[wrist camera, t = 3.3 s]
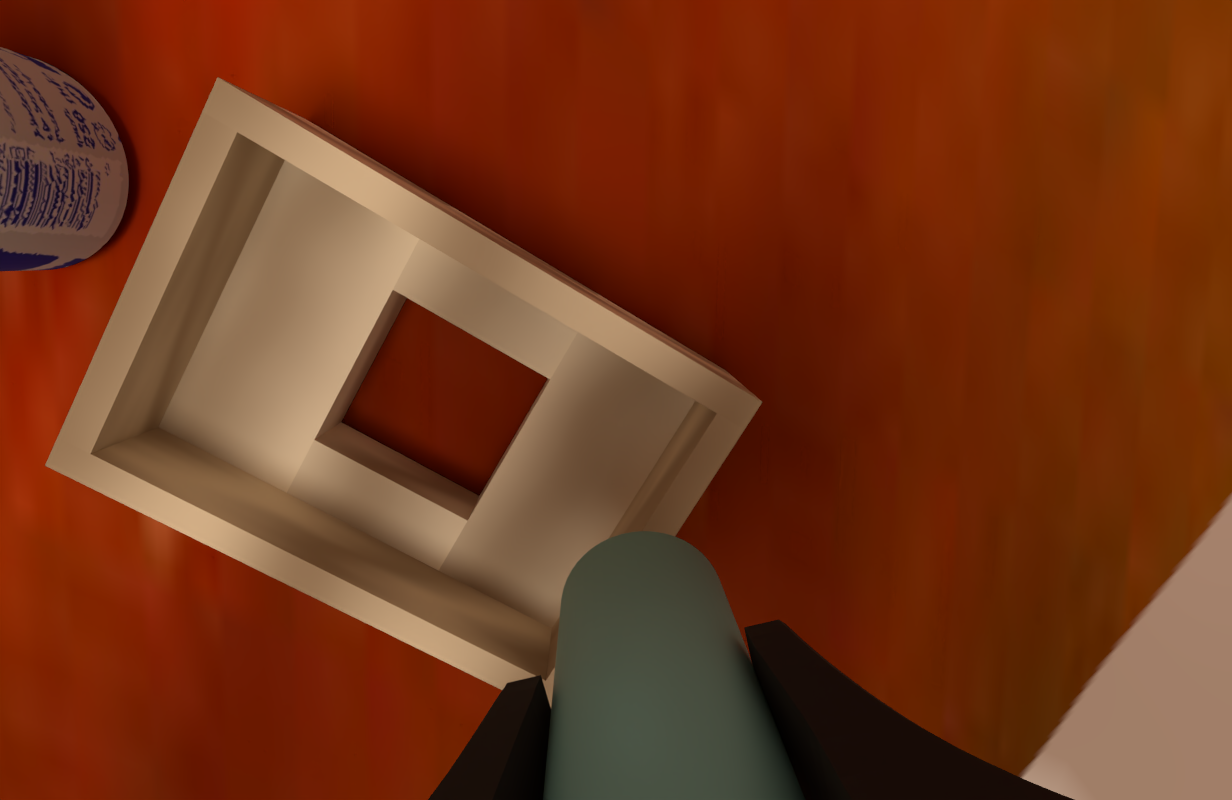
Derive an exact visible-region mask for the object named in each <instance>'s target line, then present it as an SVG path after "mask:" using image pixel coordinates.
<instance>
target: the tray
mask: <svg viewBox="0 0 1232 800" xmlns="http://www.w3.org/2000/svg"><path fill="white" fill-rule="evenodd" d="M407 298H408V299H410V300H412V301H414V302H415V303H417V304H419V305H421V306H422V307H424V308H426V309H428V310H429V311H431V312H433V313H435V314H436V315H438V316H440V317H442V318H443V319H445V320H447V321H449V322H450V323H452V324H454V325H456V326H457V327H459V328H461V329H463V330H464V331H466V332H468V333H470V334H471V335H473V336H475V337H477V338H478V339H480V340H482V341H484V342H485V343H487V344H489V345H491V346H492V347H494V348H496V349H498V350H499V351H501V352H503V353H505V354H506V355H508V356H510V357H512V358H513V359H515V360H517V361H519V362H520V363H522V364H524V365H526V366H527V367H529V368H531V369H533V370H534V371H536V372H538V373H540V374H541V375H543V376H545V377H547V378H548V379H547V381H546V383H545V384H544V386H543V388H542V390H541V391H540V393H539V395H538V396H537V398H536V400H535V402H534V403H533V405H532V407H531V409H530V410H529V412H528V414H527V415H526V417H525V419H524V421H523V422H522V424H521V426H520V427H519V429H518V431H517V433H516V434H515V436H514V438H513V439H512V441H511V443H510V445H509V446H508V448H507V450H506V451H505V453H504V455H503V457H502V458H501V460H500V462H499V463H498V465H497V467H496V469H495V470H494V472H493V474H492V475H491V477H490V479H489V481H488V482H487V484H486V486H485V487H484V489H483V491H482V493H481V494H480V496H478V495H477V494H475V493H473V492H471V491H469V490H467V489H465V488H464V487H462V486H460V485H458V484H456V483H454V482H452V481H450V480H449V479H447V478H445V477H443V476H441V475H439V474H437V473H435V472H434V471H432V470H430V469H428V468H426V467H424V466H422V465H420V464H419V463H417V462H415V461H413V460H411V459H409V458H407V457H405V456H404V455H402V454H400V453H398V452H396V451H394V450H392V449H391V448H389V447H387V446H385V445H383V444H381V443H379V442H377V441H376V440H374V439H372V438H370V437H368V436H366V435H364V434H362V433H361V432H359V431H357V430H355V429H353V428H351V427H349V426H347V425H346V424H344V423H342V420H343V418H344V416H345V414H346V412H347V410H348V408H349V406H350V405H351V403H352V401H353V399H354V397H355V395H356V393H357V391H358V389H359V388H360V386H361V384H362V382H363V380H364V378H365V376H366V374H367V372H368V370H369V369H370V367H371V365H372V363H373V361H374V359H375V357H376V355H377V353H378V352H379V350H380V348H381V346H382V344H383V342H384V340H385V338H386V336H387V335H388V333H389V331H390V329H391V327H392V325H393V323H394V321H395V319H396V317H397V316H398V314H399V312H400V310H401V308H402V306H403V304H404V302H405V300H406V299H407ZM761 404H762V401H761V400H760V399H758V398H757V397H756V396H755V395H754V394H753V393H751V392H750V391H749V390H748V389H747V388H746V387H744V386H743V385H742V384H741V383H740V382H739V381H738V380H736V379H735V378H734V377H733V376H732V375H731V374H729V373H728V372H727V371H726V370H724V369H723V368H721V367H719V366H718V365H716V364H714V363H713V362H711V361H709V360H707V359H706V358H704V357H702V356H701V355H699V354H697V353H696V352H694V351H692V350H691V349H689V348H687V347H686V346H684V345H682V344H681V343H679V342H677V341H676V340H674V339H672V338H671V337H669V336H667V335H666V334H664V333H662V332H661V331H659V330H657V329H656V328H654V327H652V326H651V325H649V324H647V323H646V322H644V321H642V320H641V319H639V318H637V317H636V316H634V315H632V314H631V313H629V312H627V311H626V310H624V309H622V308H621V307H619V306H617V305H616V304H614V303H612V302H611V301H609V300H607V299H606V298H604V297H602V296H601V295H599V294H597V293H596V292H594V291H592V290H591V289H589V288H587V287H586V286H584V285H582V284H581V283H579V282H577V281H576V280H574V279H572V278H571V277H569V276H567V275H566V274H564V273H562V272H561V271H559V270H557V269H556V268H554V267H552V266H550V265H549V264H547V263H545V262H544V261H542V260H540V259H539V258H537V257H535V256H534V255H532V254H530V253H529V252H527V251H525V250H524V249H522V248H520V247H519V246H517V245H515V244H514V243H512V242H510V241H509V240H507V239H505V238H504V237H502V236H500V235H499V234H497V233H495V232H494V231H492V230H490V229H489V228H487V227H485V226H484V225H482V224H480V223H479V222H477V221H475V220H474V219H472V218H470V217H469V216H467V215H465V214H464V213H462V212H460V211H459V210H457V209H455V208H454V207H452V206H450V205H449V204H447V203H445V202H444V201H442V200H440V199H439V198H437V197H435V196H434V195H432V194H430V193H429V192H427V191H425V190H424V189H422V188H420V187H419V186H417V185H415V184H414V183H412V182H410V181H409V180H407V179H405V178H404V177H402V176H400V175H399V174H397V173H395V172H393V171H392V170H390V169H388V168H387V167H385V166H383V165H382V164H380V163H378V162H377V161H375V160H373V159H372V158H370V157H368V156H367V155H365V154H363V153H362V152H360V151H358V150H357V149H355V148H353V147H352V146H350V145H348V144H347V143H345V142H343V141H342V140H340V139H338V138H337V137H335V136H333V135H332V134H330V133H328V132H327V131H325V130H323V129H322V128H320V127H318V126H317V125H315V124H313V123H312V122H310V121H308V120H306V119H304V118H302V117H300V116H298V115H296V114H294V113H292V112H290V111H288V110H285V109H283V108H281V107H279V106H277V105H275V104H273V103H271V102H269V101H267V100H265V99H262V98H260V97H258V96H256V95H254V94H252V93H250V92H248V91H246V90H244V89H241V88H239V87H237V86H235V85H233V84H231V83H229V82H227V81H225V80H223V79H221V78H217V80H216V82H215V84H214V87H213V89H212V91H211V93H210V96H209V98H208V100H207V102H206V105H205V107H204V109H203V111H202V114H201V116H200V118H199V120H198V123H197V125H196V127H195V129H194V132H193V134H192V136H191V138H190V141H189V143H188V145H187V147H186V150H185V152H184V154H183V156H182V159H181V161H180V163H179V165H178V168H177V170H176V172H175V174H174V177H173V179H172V181H171V183H170V186H169V188H168V190H167V192H166V195H165V197H164V199H163V201H162V204H161V206H160V208H159V210H158V213H157V215H156V217H155V219H154V222H153V224H152V226H151V228H150V231H149V233H148V235H147V237H146V240H145V242H144V244H143V246H142V249H141V251H140V253H139V255H138V258H137V260H136V262H135V264H134V267H133V269H132V271H131V273H130V276H129V278H128V280H127V282H126V285H125V287H124V289H123V291H122V294H121V296H120V298H119V300H118V303H117V305H116V307H115V309H114V312H113V314H112V316H111V318H110V321H109V323H108V325H107V327H106V330H105V332H104V334H103V336H102V339H101V341H100V343H99V345H98V348H97V350H96V352H95V354H94V357H93V359H92V361H91V363H90V366H89V368H88V370H87V372H86V375H85V377H84V379H83V381H82V384H81V386H80V388H79V390H78V393H77V395H76V397H75V399H74V402H73V404H72V406H71V408H70V411H69V413H68V415H67V417H66V420H65V422H64V424H63V426H62V429H61V431H60V433H59V435H58V438H57V440H56V442H55V444H54V447H53V449H52V451H51V453H50V456H49V458H48V460H47V462H46V465H45V466H47V467H49V468H51V469H53V470H55V471H57V472H59V473H61V474H63V475H65V476H67V477H69V478H71V479H73V480H75V481H78V482H80V483H82V484H84V485H86V486H88V487H90V488H92V489H94V490H96V491H98V492H100V493H102V494H104V495H106V496H108V497H110V498H112V499H114V500H116V501H118V502H120V503H122V504H124V505H126V506H128V507H130V508H133V509H135V510H137V511H139V512H141V513H143V514H145V515H147V516H149V517H151V518H153V519H155V520H157V521H159V522H161V523H163V524H165V525H167V526H169V527H171V528H173V529H175V530H177V531H179V532H181V533H183V534H185V535H187V536H190V537H192V538H194V539H196V540H198V541H200V542H202V543H204V544H206V545H208V546H210V547H212V548H214V549H216V550H218V551H220V552H222V553H224V554H226V555H228V556H230V557H232V558H234V559H236V560H238V561H240V562H242V563H245V564H247V565H249V566H251V567H253V568H255V569H257V570H259V571H261V572H263V573H265V574H267V575H269V576H271V577H273V578H275V579H277V580H279V581H281V582H283V583H285V584H287V585H289V586H291V587H293V588H295V589H297V590H299V591H302V592H304V593H306V594H308V595H310V596H312V597H314V598H316V599H318V600H320V601H322V602H324V603H326V604H328V605H330V606H332V607H334V608H336V609H338V610H340V611H342V612H344V613H346V614H348V615H350V616H352V617H354V618H357V619H359V620H361V621H363V622H365V623H367V624H369V625H371V626H373V627H375V628H377V629H379V630H381V631H383V632H385V633H387V634H389V635H391V636H393V637H395V638H397V639H399V640H401V641H403V642H405V643H407V644H409V645H411V646H414V647H416V648H418V649H420V650H422V651H424V652H426V653H428V654H430V655H432V656H434V657H436V658H438V659H440V660H442V661H444V662H446V663H448V664H450V665H452V666H454V667H456V668H458V669H460V670H462V671H464V672H466V673H469V674H471V675H473V676H475V677H477V678H479V679H481V680H483V681H485V682H487V683H489V684H491V685H493V686H495V687H497V688H499V689H501V690H503V689H504V687H505V686H506V684H507V683H509V682H513V681H518V680H522V679H526V678H530V677H535V676H539V675H541V677H542V680H543V684H544V687H545V691H546V694H547V697H548V701H549V704H550V707H551V706H552V695H553V684H554V673H555V662H556V651H557V640H558V629H559V619H560V608H561V598H562V593H563V588H564V586H565V583H566V580H567V578H568V576H569V574H570V572H571V570H572V569H573V568H574V566H575V565H576V563H577V562H578V561H579V560H580V559H581V558H582V557H583V556H584V554H586V553H587V552H588V551H589V550H590V549H592V548H593V547H595V546H596V545H598V544H599V543H601V542H603V541H605V540H607V539H609V538H611V537H614V536H617V535H620V534H624V533H629V532H638V531H652V532H659V533H665V534H668V535H672V536H676V534H677V533H678V531H679V529H680V528H681V526H682V525H683V523H684V522H685V520H686V519H687V517H688V516H689V514H690V513H691V511H692V509H693V508H694V506H695V505H696V503H697V502H698V500H699V499H700V497H701V496H702V494H703V493H704V491H705V490H706V488H707V486H708V485H709V483H710V482H711V480H712V479H713V477H714V476H715V474H716V473H717V471H718V470H719V468H720V467H721V465H722V463H723V462H724V460H725V459H726V457H727V456H728V454H729V453H730V451H731V450H732V448H733V447H734V445H735V443H736V442H737V440H738V439H739V437H740V436H741V434H742V433H743V431H744V430H745V428H746V427H747V425H748V424H749V422H750V420H751V419H752V417H753V416H754V414H755V413H756V411H757V410H758V408H759V407H760V405H761Z"/></svg>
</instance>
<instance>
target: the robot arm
mask: <svg viewBox="0 0 1232 800" xmlns="http://www.w3.org/2000/svg"><path fill="white" fill-rule="evenodd" d="M745 633H746V637H747V642H748V646H749V651H750V656H751V660H752V665H753V667H754V670H755V673H756V675H757V678H758V680H759V683H760V685H761V688H762V690H763V693H764V696H765V698H766V701H767V703H768V706H769V708H770V710H771V713H772V715H773V718H774V721H775V723H776V726H777V728H778V731H779V733H780V736H781V739H782V741H783V744H784V746H785V749H786V751H787V754H788V756H789V759H790V762H791V764H792V767H793V769H794V772H795V774H796V777H797V780H798V782H799V785H800V787H801V790H802V792H803V795H804V797H805V800H1074V799H1071V798H1069V797H1066V796H1063V795H1061V794H1058V793H1056V792H1053V791H1051V790H1048V789H1046V788H1043V787H1041V786H1039V785H1036V784H1033V783H1031V782H1029V781H1027V780H1024V779H1022V778H1020V777H1018V776H1015V775H1013V774H1011V773H1009V772H1007V771H1005V770H1002V769H1000V768H998V767H996V766H994V765H992V764H989V763H987V762H985V761H983V760H981V759H979V758H977V757H975V756H973V755H971V754H969V753H967V752H965V751H963V750H961V749H959V748H957V747H955V746H953V745H951V744H950V743H948V742H946V741H944V740H942V739H941V738H939V737H937V736H935V735H934V734H932V733H930V732H928V731H926V730H925V729H923V728H921V727H920V726H918V725H916V724H915V723H913V722H912V721H910V720H908V719H907V718H905V717H904V716H902V715H901V714H899V713H898V712H896V711H895V710H893V709H892V708H890V707H889V706H887V705H886V704H884V703H883V702H881V701H880V700H878V699H877V698H875V697H874V696H873V695H871V694H870V693H868V692H867V691H866V690H864V689H863V688H862V687H860V686H859V685H858V684H856V683H855V682H854V681H852V680H851V679H850V678H848V677H847V676H846V675H845V674H843V673H842V672H841V671H839V670H838V669H837V668H835V667H834V666H833V665H832V664H830V663H829V662H828V661H827V660H826V659H824V658H823V657H822V656H821V655H820V654H818V653H817V652H816V651H815V650H814V649H813V648H811V647H810V646H809V645H808V644H807V643H806V642H805V641H803V640H802V639H801V638H800V637H799V636H798V635H797V634H796V633H795V632H794V631H792V630H791V629H790V628H789V627H788V626H787V625H786V624H785V623H783V622H782V621H780V620H775V621H771V622H766V623H762V624H758V625H754V626H749V627H745ZM550 717H551V707H550V704H549V701H548V697H547V694H546V691H545V687H544V684H543V680H542V677H541V675H539V676H535V677H530V678H526V679H522V680H518V681H513V682H509V683H507V684H506V686H505V687H504V689H503V690H502V692H501V693H500V695H499V696H498V698H497V699H496V701H495V702H494V704H493V705H492V707H491V708H490V710H489V711H488V713H487V715H486V716H485V718H484V719H483V721H482V722H481V724H480V725H479V727H478V729H477V730H476V732H475V733H474V735H473V736H472V738H471V739H470V741H469V742H468V744H467V745H466V747H465V748H464V750H463V751H462V753H461V754H460V756H459V757H458V759H457V760H456V762H455V763H454V765H453V766H452V768H451V769H450V771H449V772H448V774H447V775H446V776H445V778H444V779H443V780H442V782H441V783H440V784H439V786H438V787H437V788H436V790H435V791H434V792H433V794H432V795H431V796H430V798H429V799H428V800H543V793H544V782H545V771H546V760H547V749H548V738H549V727H550Z"/></svg>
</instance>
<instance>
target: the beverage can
mask: <svg viewBox="0 0 1232 800" xmlns="http://www.w3.org/2000/svg"><path fill="white" fill-rule="evenodd" d="M128 188H129V175H128V167H127V161H126V156H125V152H124V149H123V145H122V143H121V140H120V138H119V135H118V133H117V131H116V129H115V127H114V125H113V123H112V121H111V120H110V118H109V116H108V115H107V114H106V112H105V111H104V109H103V108H102V106H101V105H100V104H99V103H98V102H97V100H96V99H95V98H94V97H93V96H92V95H91V94H90V93H89V92H88V91H87V90H86V89H85V88H84V87H83V86H82V85H81V84H79V83H78V82H77V81H76V80H74V79H73V78H72V77H70V76H69V75H68V74H66V73H65V72H63V71H61V70H59V69H57V68H56V67H54V66H52V65H50V64H48V63H45V62H43V61H41V60H38V59H35V58H32V57H28V56H25V55H22V54H19V53H16V52H14V51H11V50H8V49H5V48H2V47H0V271H22V270H51V269H58V268H63V267H67V266H70V265H73V264H76V263H78V262H81V261H83V260H85V259H87V258H88V257H90V256H92V255H93V254H94V253H96V252H97V251H98V250H100V249H101V248H102V247H103V246H104V245H105V244H106V243H107V242H108V240H109V239H110V238H111V236H112V235H113V234H114V232H115V231H116V229H117V227H118V225H119V223H120V221H121V219H122V217H123V214H124V210H125V207H126V203H127V197H128Z"/></svg>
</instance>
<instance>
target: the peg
mask: <svg viewBox="0 0 1232 800" xmlns="http://www.w3.org/2000/svg"><path fill="white" fill-rule="evenodd" d="M543 800H805V797H804V795H803V792H802V790H801V787H800V785H799V782H798V780H797V777H796V774H795V772H794V769H793V767H792V764H791V762H790V759H789V756H788V754H787V751H786V749H785V746H784V744H783V741H782V739H781V736H780V733H779V731H778V728H777V726H776V723H775V721H774V718H773V715H772V713H771V710H770V708H769V706H768V703H767V701H766V698H765V696H764V693H763V690H762V688H761V685H760V683H759V680H758V678H757V675H756V673H755V670H754V667H753V665H752V662H751V659H750V657H749V654H748V651H747V649H746V646H745V644H744V641H743V639H742V636H741V633H740V631H739V628H738V626H737V623H736V621H735V618H734V616H733V613H732V610H731V608H730V605H729V603H728V600H727V598H726V595H725V592H724V590H723V587H722V585H721V582H720V580H719V577H718V575H717V573H716V571H715V569H714V568H713V566H712V565H711V563H710V562H709V560H708V559H707V558H706V557H705V556H704V555H703V554H702V553H701V552H700V551H699V550H697V549H696V548H695V547H694V546H692V545H691V544H689V543H687V542H686V541H684V540H682V539H679V538H677V537H675V536H672V535H668V534H665V533H659V532H652V531H638V532H629V533H624V534H620V535H617V536H614V537H611V538H609V539H607V540H605V541H603V542H601V543H599V544H598V545H596V546H595V547H593V548H592V549H590V550H589V551H588V552H587V553H586V554H584V556H583V557H582V558H581V559H580V560H579V561H578V562H577V563H576V565H575V566H574V568H573V569H572V570H571V572H570V574H569V576H568V578H567V580H566V583H565V586H564V588H563V593H562V598H561V608H560V619H559V629H558V640H557V651H556V662H555V673H554V684H553V695H552V706H551V717H550V727H549V738H548V749H547V760H546V771H545V782H544V793H543Z"/></svg>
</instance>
